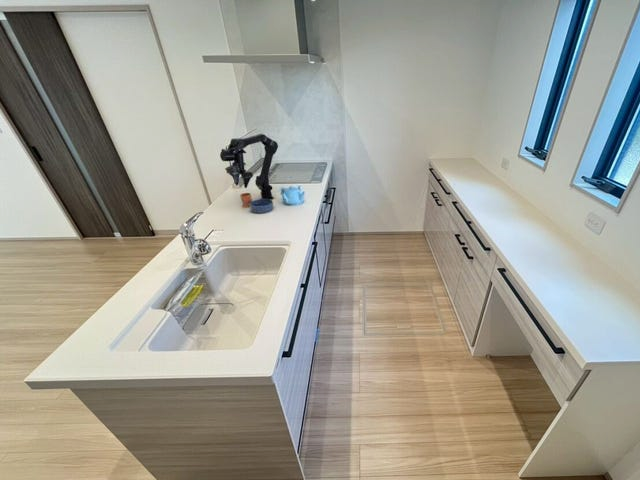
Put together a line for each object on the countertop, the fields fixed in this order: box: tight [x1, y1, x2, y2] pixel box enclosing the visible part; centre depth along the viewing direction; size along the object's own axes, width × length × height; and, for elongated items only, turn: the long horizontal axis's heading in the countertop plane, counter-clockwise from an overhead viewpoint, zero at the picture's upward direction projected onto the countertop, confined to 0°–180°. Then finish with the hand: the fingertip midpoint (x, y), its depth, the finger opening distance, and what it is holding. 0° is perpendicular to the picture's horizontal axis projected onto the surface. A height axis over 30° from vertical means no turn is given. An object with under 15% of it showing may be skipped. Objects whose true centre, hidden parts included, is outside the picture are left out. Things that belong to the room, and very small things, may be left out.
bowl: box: [249, 198, 274, 214], centre depth 197 cm, size 14×14×5 cm
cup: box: [239, 192, 253, 208], centre depth 203 cm, size 6×6×8 cm
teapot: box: [280, 185, 306, 206], centre depth 207 cm, size 15×15×11 cm
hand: (241, 186), depth 198 cm, fingers open, 9 cm apart
